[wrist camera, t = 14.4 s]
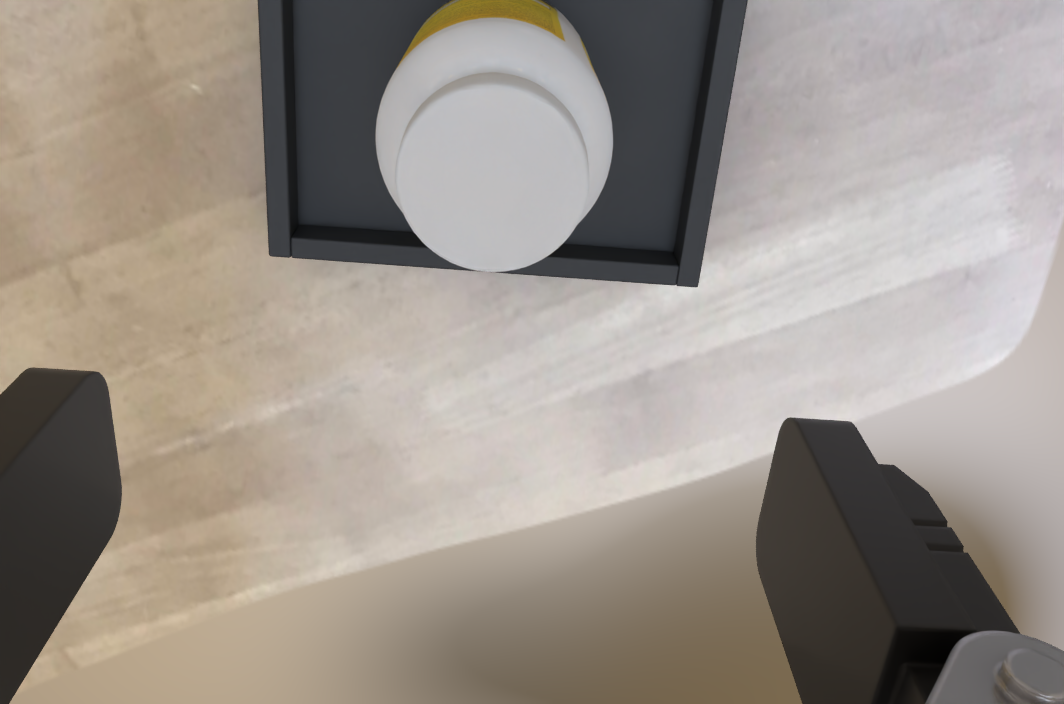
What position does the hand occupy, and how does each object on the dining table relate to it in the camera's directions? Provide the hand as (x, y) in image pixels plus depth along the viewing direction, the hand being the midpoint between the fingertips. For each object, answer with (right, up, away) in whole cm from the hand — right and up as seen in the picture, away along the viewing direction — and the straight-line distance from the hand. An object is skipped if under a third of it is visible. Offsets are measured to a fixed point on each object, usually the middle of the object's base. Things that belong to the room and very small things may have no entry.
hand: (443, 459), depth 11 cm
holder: (0, +11, +22) cm, 25 cm away
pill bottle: (0, +11, +22) cm, 24 cm away
